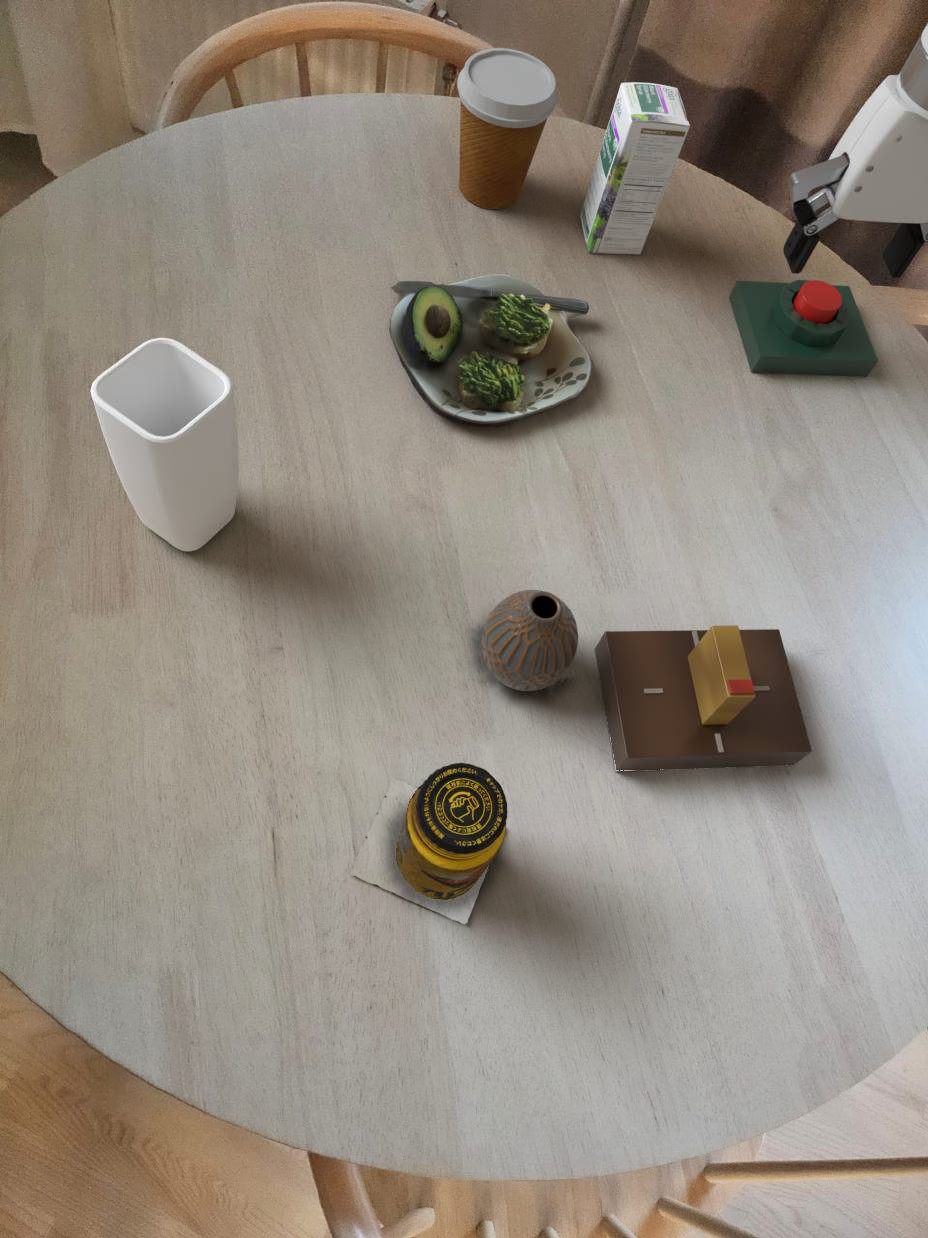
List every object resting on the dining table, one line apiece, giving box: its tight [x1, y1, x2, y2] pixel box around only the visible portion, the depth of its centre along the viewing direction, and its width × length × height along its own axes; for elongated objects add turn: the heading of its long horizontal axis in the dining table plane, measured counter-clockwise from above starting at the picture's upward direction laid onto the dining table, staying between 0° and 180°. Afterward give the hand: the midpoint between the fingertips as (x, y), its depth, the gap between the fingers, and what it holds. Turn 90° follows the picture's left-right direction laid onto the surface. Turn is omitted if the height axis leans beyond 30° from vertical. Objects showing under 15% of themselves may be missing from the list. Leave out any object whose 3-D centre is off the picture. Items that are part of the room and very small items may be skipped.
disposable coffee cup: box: [456, 47, 559, 210], centre depth 92 cm, size 10×10×12 cm
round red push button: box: [793, 279, 842, 324], centre depth 90 cm, size 4×4×2 cm
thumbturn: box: [688, 624, 755, 725], centre depth 67 cm, size 6×2×5 cm, turn 5°
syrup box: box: [579, 81, 691, 255], centre depth 90 cm, size 6×6×14 cm
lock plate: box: [594, 628, 813, 771], centre depth 71 cm, size 14×10×3 cm
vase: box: [481, 589, 579, 692], centre depth 68 cm, size 7×7×9 cm
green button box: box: [728, 279, 879, 378], centre depth 92 cm, size 12×10×4 cm
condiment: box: [396, 762, 508, 900], centre depth 59 cm, size 7×8×12 cm
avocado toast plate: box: [388, 273, 593, 428], centre depth 85 cm, size 19×18×5 cm
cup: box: [89, 337, 240, 552], centre depth 67 cm, size 7×7×15 cm
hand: (841, 264), depth 85 cm, fingers open, 9 cm apart
